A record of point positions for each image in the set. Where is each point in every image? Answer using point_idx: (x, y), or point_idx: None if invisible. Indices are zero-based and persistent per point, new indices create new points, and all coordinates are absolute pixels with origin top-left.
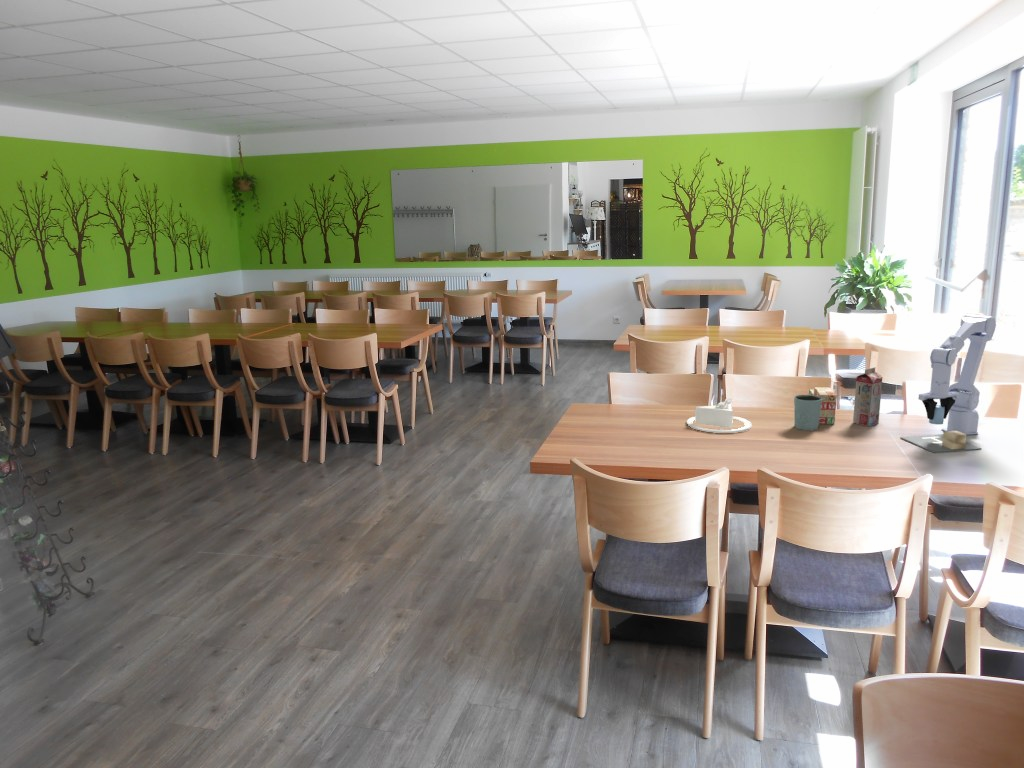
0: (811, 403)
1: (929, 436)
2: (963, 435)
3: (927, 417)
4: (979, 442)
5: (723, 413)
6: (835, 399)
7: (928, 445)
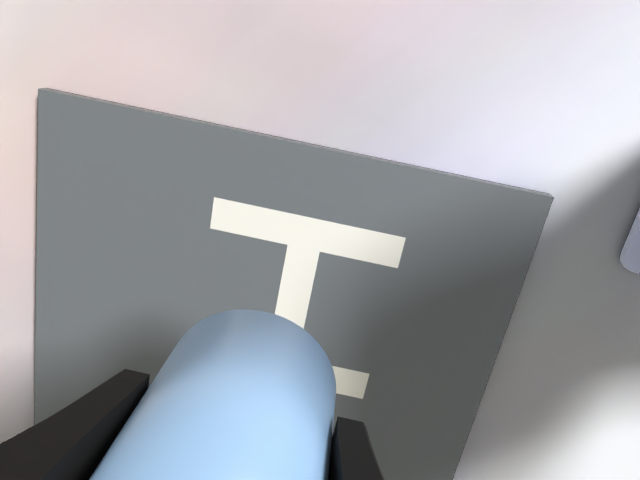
0: None
1: (325, 201)
2: None
3: (113, 376)
4: (591, 463)
5: None
6: None
7: (103, 379)
